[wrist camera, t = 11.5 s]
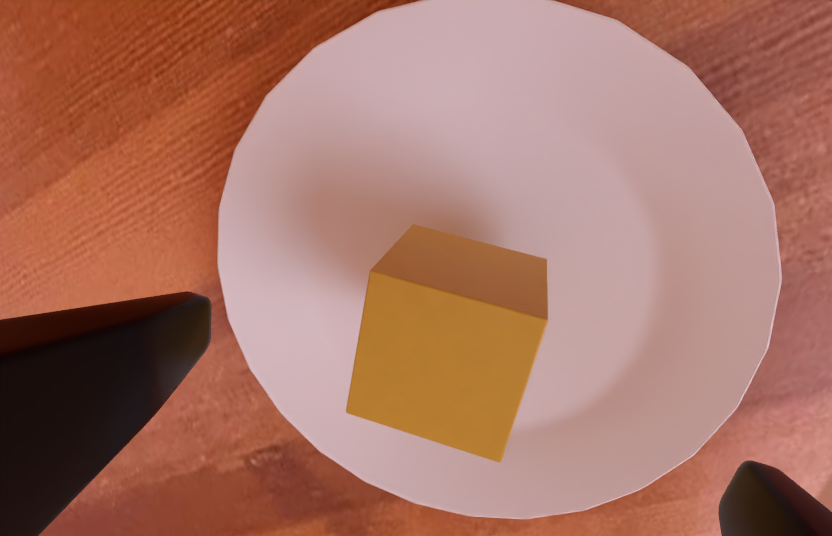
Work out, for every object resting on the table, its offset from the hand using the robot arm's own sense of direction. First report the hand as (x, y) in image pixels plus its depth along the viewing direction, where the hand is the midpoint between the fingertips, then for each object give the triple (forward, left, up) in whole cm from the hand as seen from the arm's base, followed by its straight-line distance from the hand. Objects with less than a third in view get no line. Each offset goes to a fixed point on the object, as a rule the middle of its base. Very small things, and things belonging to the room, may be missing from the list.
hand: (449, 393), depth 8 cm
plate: (-1, +3, -13) cm, 13 cm away
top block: (-1, +3, -10) cm, 11 cm away
